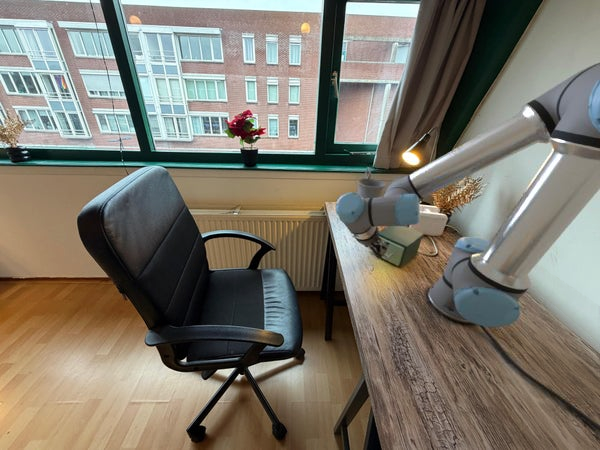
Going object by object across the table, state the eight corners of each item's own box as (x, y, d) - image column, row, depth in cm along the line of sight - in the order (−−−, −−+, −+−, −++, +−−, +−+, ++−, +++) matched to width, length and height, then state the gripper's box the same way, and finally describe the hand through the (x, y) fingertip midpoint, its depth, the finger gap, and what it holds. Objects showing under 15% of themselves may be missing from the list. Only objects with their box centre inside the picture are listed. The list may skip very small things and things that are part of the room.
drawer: (392, 270, 90) (397, 253, 86) (366, 256, 97) (369, 239, 93) (413, 253, 101) (419, 237, 97) (388, 241, 108) (392, 226, 104)
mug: (383, 225, 124) (395, 177, 112) (355, 224, 123) (364, 176, 111) (371, 209, 140) (381, 166, 128) (346, 209, 139) (353, 165, 127)
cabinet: (400, 267, 93) (407, 246, 89) (371, 252, 101) (376, 232, 97) (416, 253, 102) (423, 234, 98) (389, 241, 110) (394, 222, 106)
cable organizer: (434, 227, 125) (441, 206, 119) (441, 238, 116) (449, 216, 110) (403, 223, 126) (409, 203, 121) (408, 233, 117) (415, 212, 112)
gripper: (339, 230, 77) (360, 255, 95) (376, 248, 69) (391, 272, 87) (352, 211, 78) (370, 239, 96) (390, 226, 69) (402, 254, 88)
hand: (380, 254), depth 91 cm, fingers closed
